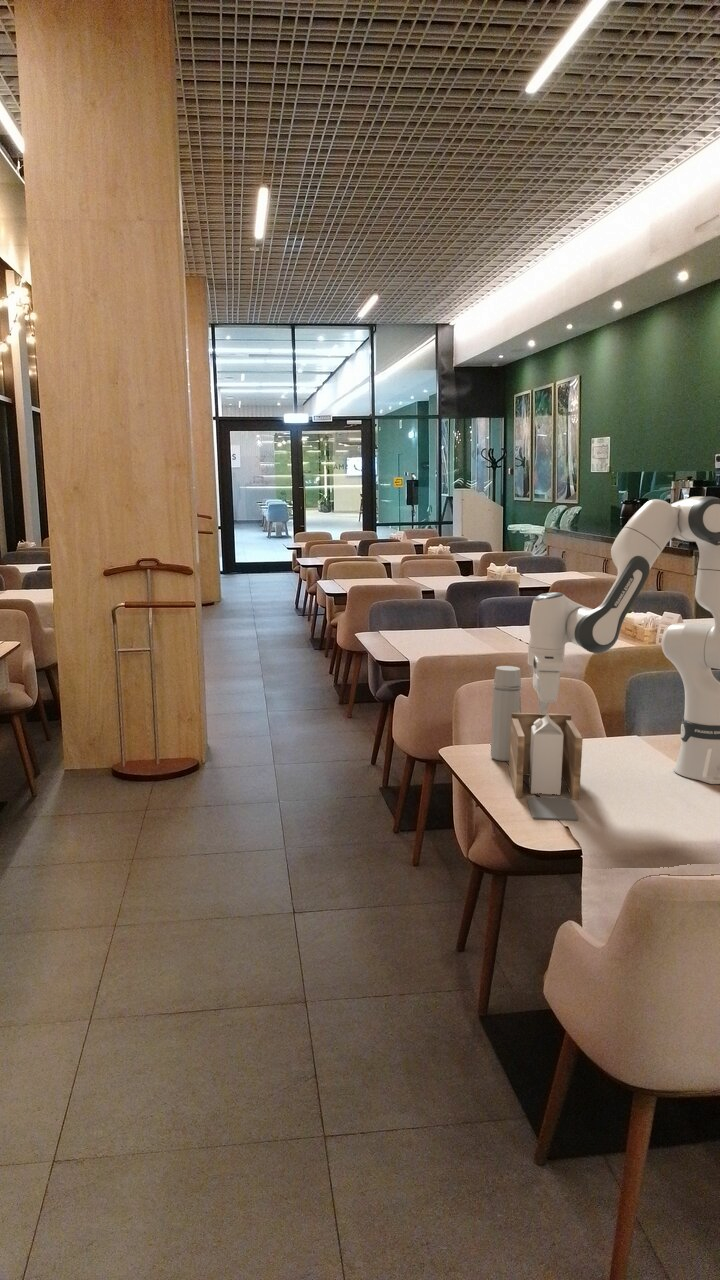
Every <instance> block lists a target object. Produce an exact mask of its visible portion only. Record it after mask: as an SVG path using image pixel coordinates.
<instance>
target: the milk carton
mask: <svg viewBox="0 0 720 1280" xmlns="http://www.w3.org/2000/svg"><path fill="white" fill-rule="evenodd" d="M548 714H549V712H548V710H547V711H546V716H545V717H543V718H542V719H540V718H539V719H537V720H536V721H535V722H534V725H533V726H532V727H531V746H530V768H529V775H528V776H529V777H528V788H529V792H530V794H531V795H533V794H534V795H535V794H536V795H540V794H539V793H542V794H541V795H552V794H555V795H556V794H557V795H556V796H559V795H560V796H561V791H562V777H563V776H562V757H563V737H564V735H563V733H562V730H561V728H560V727H559V726H558V725H557V724H556V723H555V722H554V721H552V720H551V719H550V717H549V715H548ZM537 793H538V794H537Z"/></svg>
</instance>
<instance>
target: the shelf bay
mask: <svg viewBox="0 0 720 1280" xmlns="http://www.w3.org/2000/svg"><path fill="white" fill-rule="evenodd" d="M548 715H549V717H550V719H551V720H552V721H554V722H555V723H556V724H557V725H558V726H559V727H560V728H561V730H562V733H563V735H564V737H563V757H562V776H561V777H562V779H563V778H564V779H563V780H565V781H564V783H565V782H566V783H565V785H566V784H567V785H566V787H567V789H569V790H568V792H569V791H570V792H569V794H570V793H571V794H570V797H571V798H572V800H580V793H581V792H580V790H581V776H582V775H581V772H582V760H583V759H582V758H583V757H582V755H583V737H582V735H581V733H580V731H579V730H578V728H577V726H576V725H575V723H574V722H573V720H572V714H571V713H567V714H566V713H548ZM545 716H546V714H541V713H540V712H539V713H538V712H537V713H535V712H521V713H511V734H510V758H509V761H508V763H509V764H508V775H509V778H510V782H511V785H512V789H513V793H514V796H515V798H523V785H524V783H523V781H524V775H523V774H529V768H530V746H531V727H532V726H533V725H534V722H535V721H536V720H537V719H539V718H540V719H542V718H543V717H545Z"/></svg>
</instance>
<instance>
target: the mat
mask: <svg viewBox="0 0 720 1280" xmlns="http://www.w3.org/2000/svg"><path fill="white" fill-rule="evenodd" d="M525 797H526V801H527V804H528V807H529V808H528V809H529V811H530V814H531V817H532V819H533V820H550V821H551V820H552V821H553V820H555V821H556V820H558V821H579V818H578V816H577V813H576V810H575V807H574V806H573V804H572V802H571V800H570V798H569V797H547V796H546V797H545V796H525Z"/></svg>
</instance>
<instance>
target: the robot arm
mask: <svg viewBox="0 0 720 1280" xmlns="http://www.w3.org/2000/svg"><path fill="white" fill-rule="evenodd" d="M672 540H676V541H680V542H682V541H685V542H691V543H693V542H694V543H696V545H697V548H698V553H699V554H698V555H699V557H698V565H697V572H696V582H695V590H694V592H695V593H694V597H695V601H696V602H697V604H698V605H699V606H700V607H701V608H703V609H705V610H706V611H708V612H709V613H710V614H711V615H712V617H713V619H714V620H713V621H714V624H707V623H700V622H699V623H697V622H679V623H672V624H670V625H669V626H668V627H667V628H666V629H665V630H664V632H663V634H662V636H661V642H660V645H661V650H662V653H663V655H664V656H665V657H666V659H667V660H669V662H671V663H672V665H673V666H674V667H675V668H676V670H677V672H678V673H679V675H680V678H681V681H682V683H683V687H684V714H683V715H684V716H683V717H682V720H681V725H680V739H681V741H680V742H681V743H680V746H679V752H678V755H677V758H676V763H675V765H674V768H673V771H674V772H675V773H676V774H678V775H680V776H682V777H685V778H688V779H692V780H698V781H701V782H704V783H706V784H711V785H720V681H719V680H718V679H717V678H716V677H715V676H714V674H713V672H712V669H716V670H720V498H719V497H716V496H690V497H689V498H681V499H676V500H674V501H672V502H670V503H669V502H668V501H665V500H663V499H658V498H656V499H655V498H654V499H650V500H648V501H646V502H645V503H643V505H642V506H641V507H640V508H639V509H638V510H637V511H636V512H635V513H634V514H633V515H632V516H631V517H630V518H629V519H628V521H627V523H626V524H625V525H624V526H623V528H622V529H621V530H620V531H619V533H618V534H617V536H616V537H615V540H614V541H613V544H612V546H611V549H610V555H611V560H612V562H613V565H615V567H616V571H617V575H616V579H615V581H614V583H613V584H612V586H611V588H610V589H609V590H608V592H607V594H606V596H605V598H604V600H603V601H602V602H601V604H600V605H598V606H597V607H596V608H594V609H593V608H591V607H587V606H585V605H582V604H580V603H578V602H575V601H574V600H572V599H570V598H569V597H567V596H566V595H565V594H564V593H563V592H556V591H554V592H545V593H541V594H539V595H537V596H535V597H534V599H533V601H532V603H531V604H532V605H531V610H530V617H529V625H528V626H529V632H530V637H529V642H528V645H527V647H528V649H527V665H528V666H531V667H532V672H533V673H532V686H533V689H534V690H535V692H536V693H537V694H536V695H537V696H538V697H537V698H538V711H539V713H541V714H546V711H547V712H548V707H549V703H551V704H552V703H553V704H555V703H556V702H557V699H558V694H559V690H560V689H559V688H560V682H561V681H560V680H561V672H564V664H565V652H566V651H565V648H566V647H565V646H566V644H567V643H571V644H573V645H576V646H579V647H581V648H582V649H584V650H585V651H587V652H590V653H592V654H602V653H604V652H605V653H606V652H607V651H608V650H609V651H610V649H611V648H613V647H614V645H615V644H616V643H617V640H618V638H619V635H620V632H621V630H622V629H621V628H622V625H623V622H624V620H625V618H626V616H627V615H628V612H629V611H630V609H631V607H632V606H633V604H634V603H635V601H636V599H637V597H638V596H639V594H640V592H641V591H642V589H643V587H644V586H645V584H646V582H647V579H648V577H649V575H650V571H651V568H652V567H653V565H654V563H655V562H656V561H657V558H659V556H660V555H661V553H662V552H663V550H664V549H665V547H666V546H667V544H668V543H669V542H670V541H672Z"/></svg>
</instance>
